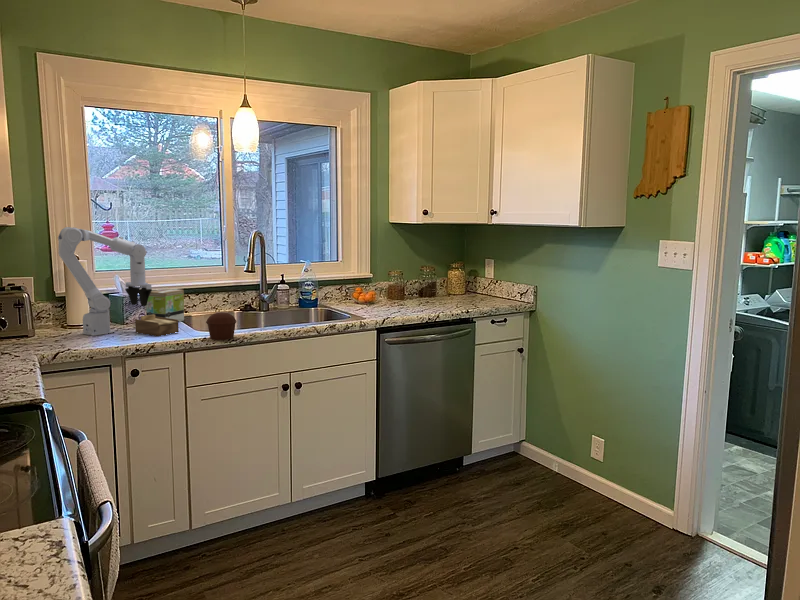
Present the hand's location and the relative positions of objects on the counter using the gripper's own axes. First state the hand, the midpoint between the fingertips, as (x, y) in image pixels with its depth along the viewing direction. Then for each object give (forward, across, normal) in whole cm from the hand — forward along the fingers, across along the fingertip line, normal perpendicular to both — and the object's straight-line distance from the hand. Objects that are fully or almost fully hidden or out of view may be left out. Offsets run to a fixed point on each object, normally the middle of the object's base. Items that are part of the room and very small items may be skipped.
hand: (139, 305), depth 257 cm
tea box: (+11, +7, -18) cm, 22 cm away
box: (+10, -12, +1) cm, 16 cm away
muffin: (+11, -41, -7) cm, 43 cm away
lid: (+6, -12, +1) cm, 13 cm away
